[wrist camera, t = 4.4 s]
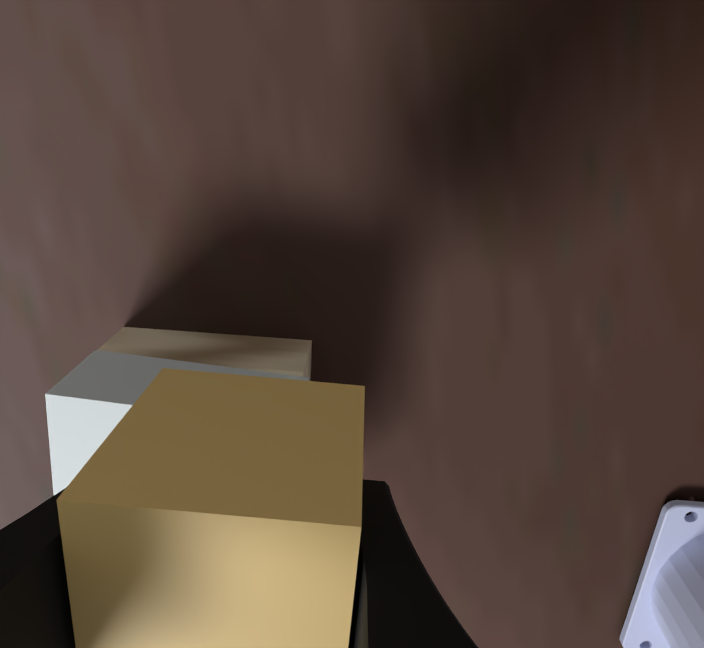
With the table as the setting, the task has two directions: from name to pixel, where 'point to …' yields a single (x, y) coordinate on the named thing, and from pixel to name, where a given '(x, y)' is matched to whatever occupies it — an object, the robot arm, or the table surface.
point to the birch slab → (216, 349)
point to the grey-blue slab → (105, 403)
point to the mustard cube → (219, 517)
